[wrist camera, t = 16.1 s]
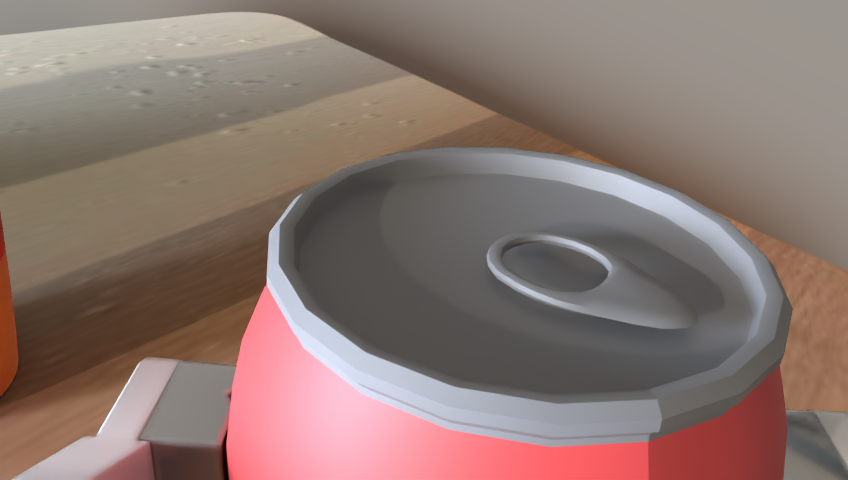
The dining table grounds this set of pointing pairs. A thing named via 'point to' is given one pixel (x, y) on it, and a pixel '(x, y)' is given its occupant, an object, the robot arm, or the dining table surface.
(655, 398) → the beer can
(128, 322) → the dining table surface
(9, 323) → the paper cup
